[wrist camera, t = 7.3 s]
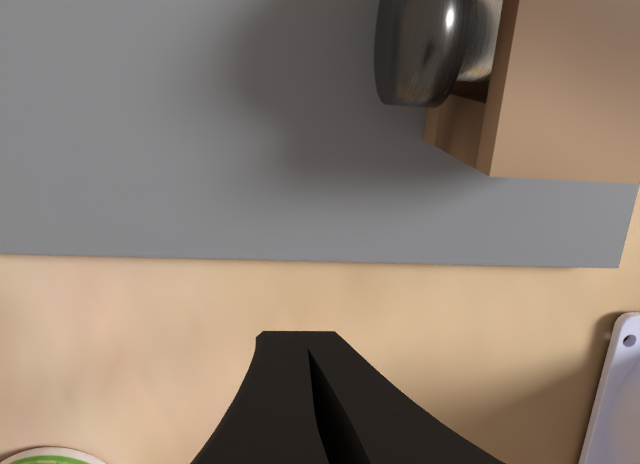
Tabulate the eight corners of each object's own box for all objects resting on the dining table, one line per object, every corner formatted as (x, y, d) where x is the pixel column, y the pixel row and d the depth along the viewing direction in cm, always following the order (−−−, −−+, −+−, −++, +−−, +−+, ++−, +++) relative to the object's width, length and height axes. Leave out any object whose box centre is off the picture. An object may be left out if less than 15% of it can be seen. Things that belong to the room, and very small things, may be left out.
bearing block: (575, 148, 18) (689, 186, 14) (422, 139, 18) (489, 176, 13) (621, -63, 17) (768, -100, 12) (452, -83, 16) (541, -130, 11)
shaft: (705, 119, 18) (815, 139, 14) (368, 97, 16) (403, 113, 13) (740, -7, 17) (868, -18, 13) (383, -46, 15) (426, -69, 12)
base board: (601, 258, 21) (618, 268, 20) (1, 242, 18) (-12, 253, 17) (712, -203, 17) (740, -217, 16) (-52, -329, 14) (-73, -356, 13)
